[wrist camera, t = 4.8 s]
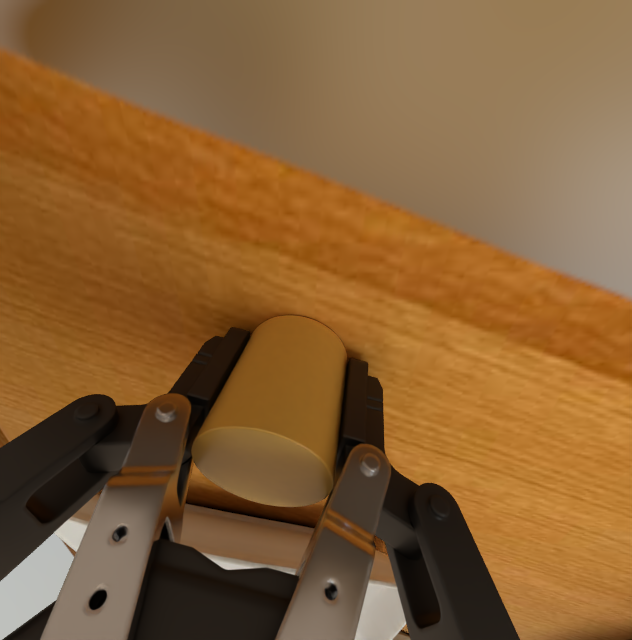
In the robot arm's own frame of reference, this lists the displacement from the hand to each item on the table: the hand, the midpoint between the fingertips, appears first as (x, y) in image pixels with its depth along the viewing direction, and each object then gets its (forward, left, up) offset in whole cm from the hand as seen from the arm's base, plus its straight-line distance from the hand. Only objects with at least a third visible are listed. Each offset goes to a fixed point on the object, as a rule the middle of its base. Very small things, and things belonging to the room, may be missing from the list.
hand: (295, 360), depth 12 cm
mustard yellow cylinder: (0, 0, 0) cm, 0 cm away
